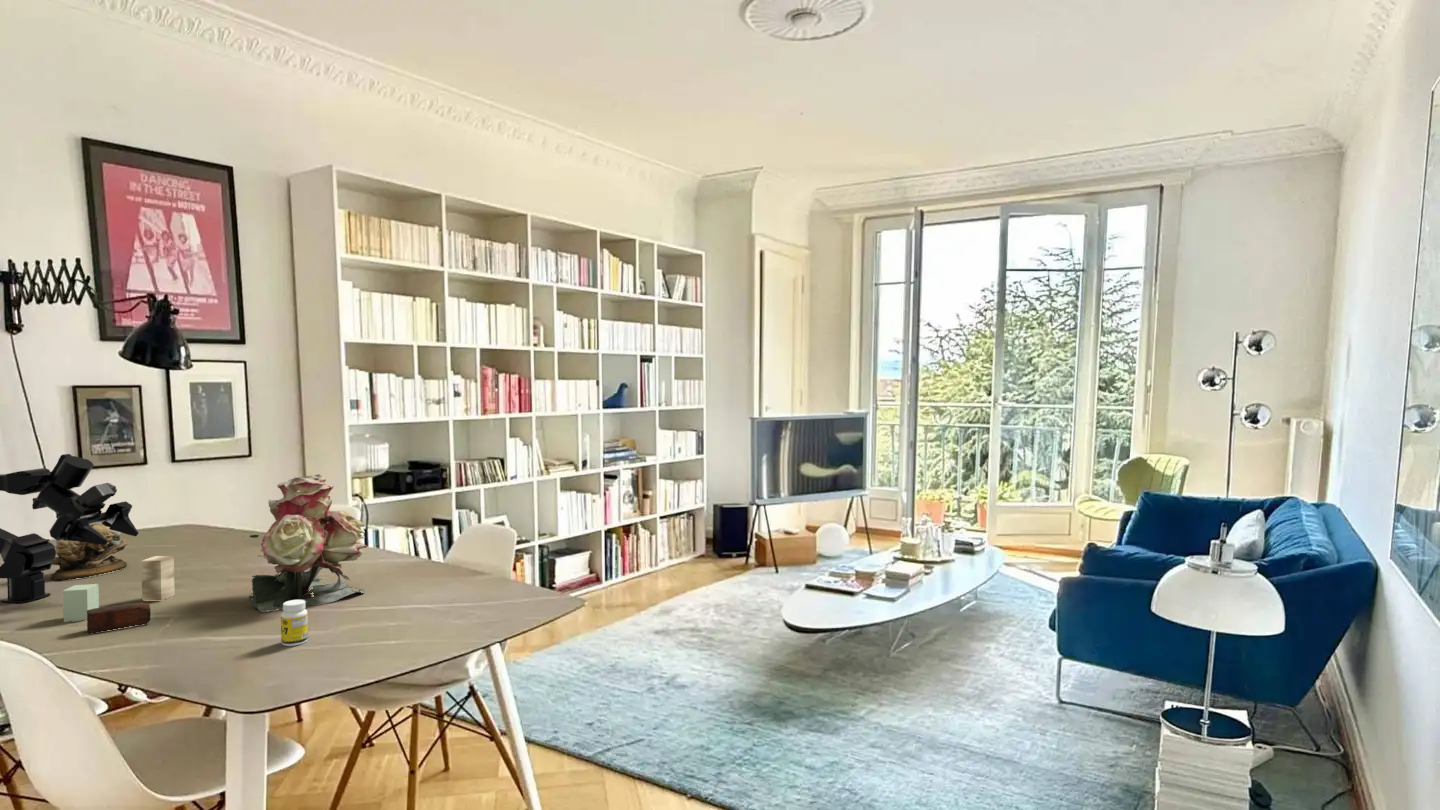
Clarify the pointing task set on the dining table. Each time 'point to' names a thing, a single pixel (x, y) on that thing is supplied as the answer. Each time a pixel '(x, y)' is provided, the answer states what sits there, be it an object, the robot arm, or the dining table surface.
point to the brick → (117, 617)
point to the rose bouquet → (306, 546)
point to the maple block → (158, 578)
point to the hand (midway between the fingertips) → (122, 538)
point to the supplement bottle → (294, 623)
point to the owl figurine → (88, 556)
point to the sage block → (79, 601)
